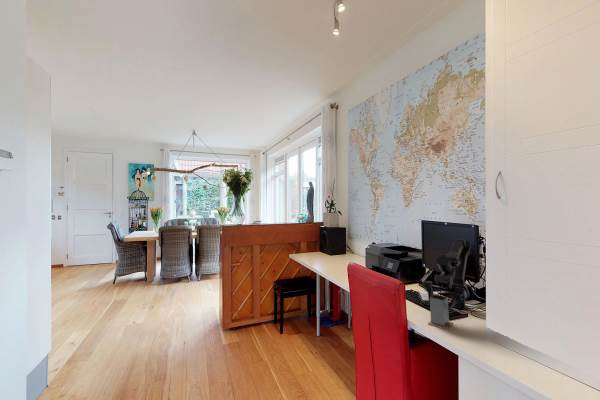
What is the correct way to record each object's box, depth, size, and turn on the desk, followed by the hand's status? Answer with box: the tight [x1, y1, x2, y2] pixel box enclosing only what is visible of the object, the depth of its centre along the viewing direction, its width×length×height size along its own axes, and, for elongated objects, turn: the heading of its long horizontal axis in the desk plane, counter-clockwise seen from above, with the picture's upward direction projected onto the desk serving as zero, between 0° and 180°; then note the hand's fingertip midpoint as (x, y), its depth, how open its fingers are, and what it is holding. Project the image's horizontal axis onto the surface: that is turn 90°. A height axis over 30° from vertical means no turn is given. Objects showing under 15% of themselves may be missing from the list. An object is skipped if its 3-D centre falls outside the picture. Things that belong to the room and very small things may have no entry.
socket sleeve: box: [429, 294, 450, 327], centre depth 124 cm, size 6×6×12 cm
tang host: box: [427, 320, 454, 331], centre depth 124 cm, size 8×8×4 cm
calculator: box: [417, 290, 440, 304], centre depth 153 cm, size 11×4×15 cm
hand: (439, 305), depth 124 cm, fingers open, 9 cm apart
